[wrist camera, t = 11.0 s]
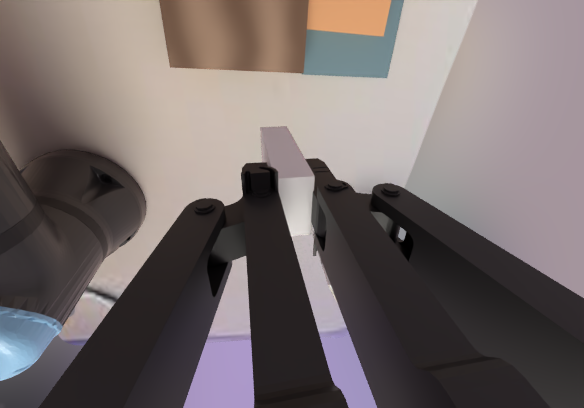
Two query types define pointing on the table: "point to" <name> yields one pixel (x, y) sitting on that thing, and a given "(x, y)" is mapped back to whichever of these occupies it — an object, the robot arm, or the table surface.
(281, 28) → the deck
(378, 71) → the mat
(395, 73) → the table surface
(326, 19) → the tile
